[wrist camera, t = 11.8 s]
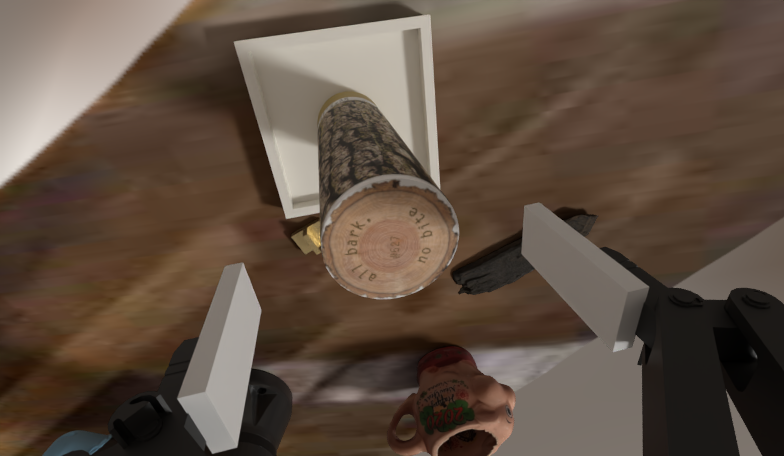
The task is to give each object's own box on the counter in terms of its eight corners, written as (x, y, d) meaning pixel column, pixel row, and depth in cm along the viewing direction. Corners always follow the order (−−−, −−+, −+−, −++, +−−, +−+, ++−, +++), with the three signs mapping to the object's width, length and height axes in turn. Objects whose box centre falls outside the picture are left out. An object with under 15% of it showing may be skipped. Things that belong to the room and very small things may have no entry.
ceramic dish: (287, 209, 44) (286, 218, 42) (238, 40, 35) (233, 41, 33) (434, 182, 46) (440, 189, 43) (423, 14, 37) (430, 14, 34)
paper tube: (319, 155, 40) (325, 306, 19) (314, 89, 37) (314, 181, 16) (380, 153, 42) (452, 292, 20) (381, 89, 38) (467, 174, 17)
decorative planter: (393, 411, 66) (410, 497, 54) (366, 371, 60) (379, 458, 48) (497, 367, 65) (538, 444, 53) (480, 322, 59) (523, 398, 47)
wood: (464, 304, 57) (472, 317, 55) (446, 272, 53) (453, 284, 51) (595, 236, 55) (610, 246, 53) (587, 198, 52) (602, 207, 49)
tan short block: (305, 249, 47) (305, 261, 45) (291, 232, 46) (290, 243, 43) (332, 234, 47) (333, 245, 45) (319, 216, 45) (319, 227, 43)
